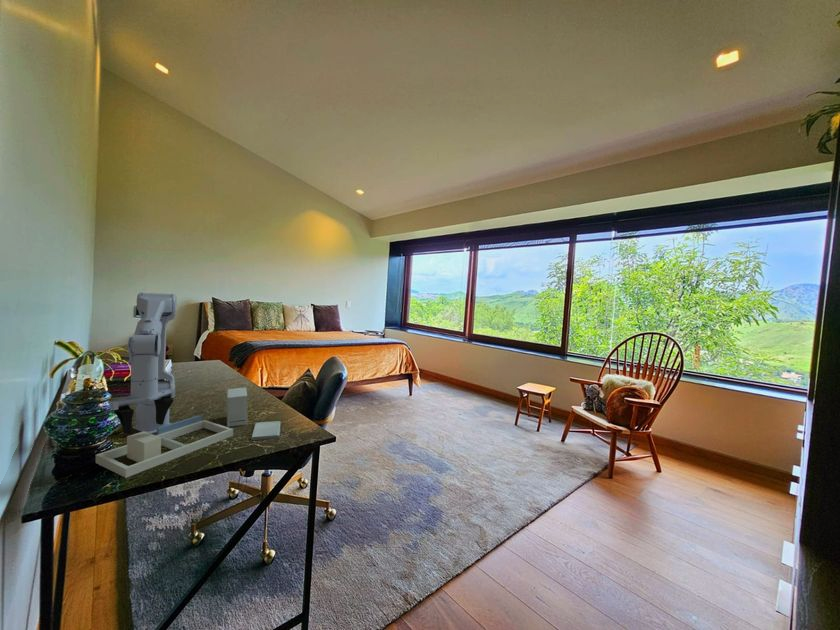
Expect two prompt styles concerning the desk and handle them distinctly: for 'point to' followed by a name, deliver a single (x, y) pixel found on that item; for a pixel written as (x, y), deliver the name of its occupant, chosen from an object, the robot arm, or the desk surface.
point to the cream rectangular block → (143, 446)
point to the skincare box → (236, 407)
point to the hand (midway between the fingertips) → (144, 428)
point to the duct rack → (166, 445)
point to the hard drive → (266, 430)
